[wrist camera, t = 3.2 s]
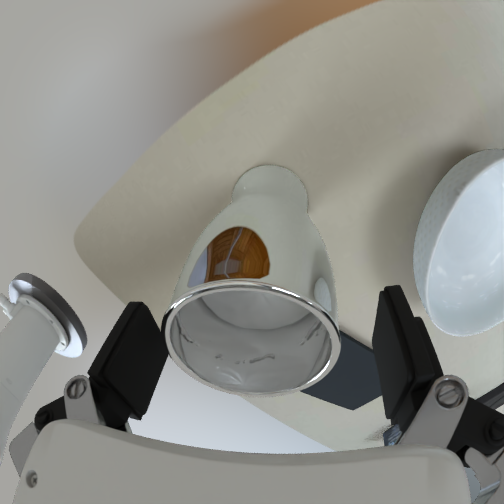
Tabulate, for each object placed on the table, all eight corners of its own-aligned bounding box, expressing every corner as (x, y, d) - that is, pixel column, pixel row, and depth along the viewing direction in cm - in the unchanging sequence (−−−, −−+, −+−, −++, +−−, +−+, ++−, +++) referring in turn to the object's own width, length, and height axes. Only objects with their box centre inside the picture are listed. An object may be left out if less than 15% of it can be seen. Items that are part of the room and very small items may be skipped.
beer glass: (321, 167, 20) (379, 295, 8) (303, 244, 24) (314, 406, 11) (231, 152, 20) (144, 257, 8) (223, 231, 24) (165, 382, 11)
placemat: (254, 368, 34) (254, 371, 33) (320, 318, 28) (320, 322, 28) (352, 407, 39) (352, 410, 38) (412, 372, 33) (413, 376, 32)
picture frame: (469, 417, 44) (521, 385, 38) (471, 424, 42) (523, 391, 36) (471, 402, 39) (530, 363, 33) (474, 409, 37) (533, 370, 31)
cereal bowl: (525, 241, 20) (557, 274, 14) (424, 314, 27) (445, 361, 21) (494, 106, 14) (546, 120, 8) (362, 195, 21) (391, 237, 15)
